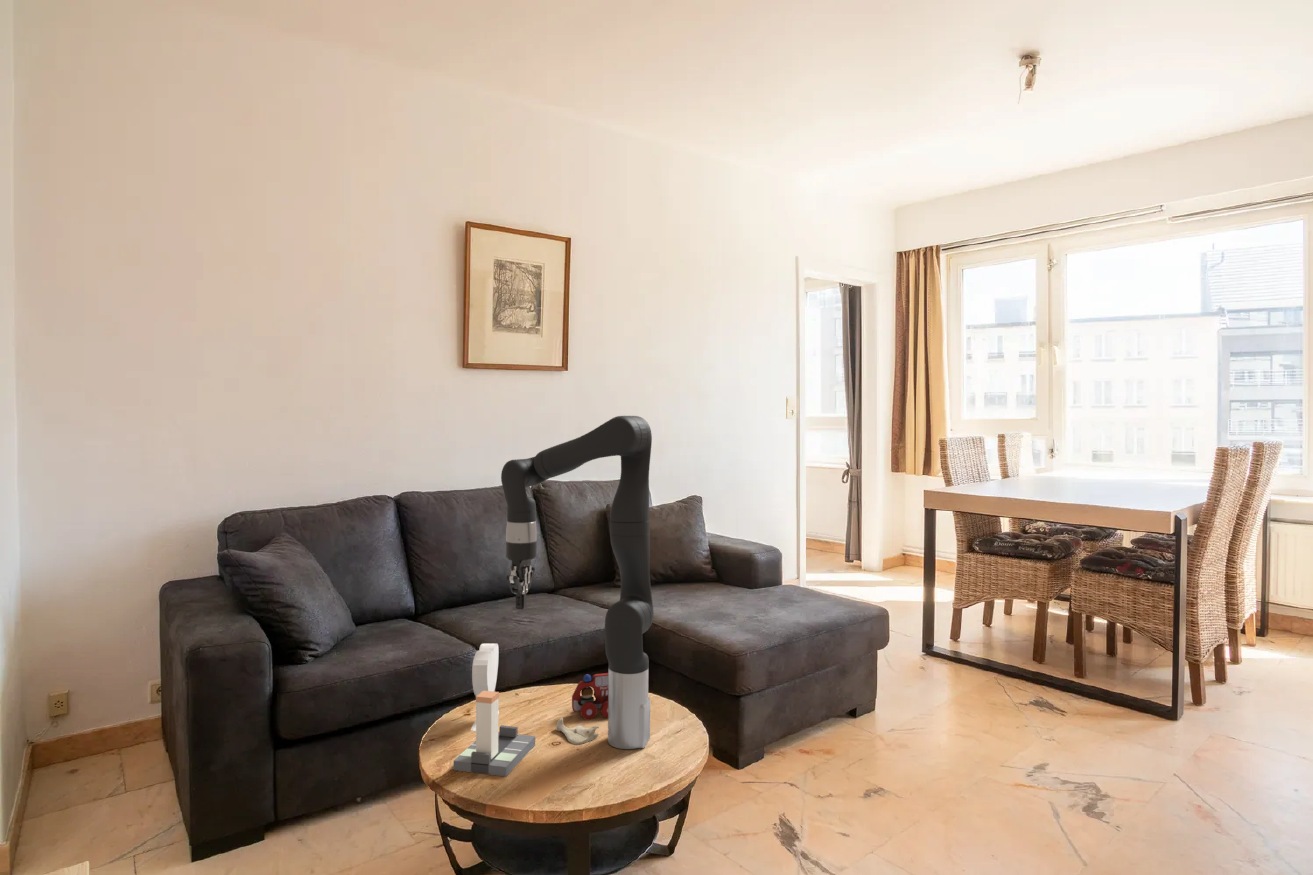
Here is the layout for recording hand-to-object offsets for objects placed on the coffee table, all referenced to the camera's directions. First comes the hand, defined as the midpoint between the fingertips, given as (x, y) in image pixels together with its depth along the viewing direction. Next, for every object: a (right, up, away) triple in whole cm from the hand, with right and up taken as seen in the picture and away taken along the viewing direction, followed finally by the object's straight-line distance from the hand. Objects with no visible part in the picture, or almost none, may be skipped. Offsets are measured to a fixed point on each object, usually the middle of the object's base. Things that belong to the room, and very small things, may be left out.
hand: (520, 608), depth 192 cm
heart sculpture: (-8, -27, -2) cm, 29 cm away
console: (-2, -28, -22) cm, 36 cm away
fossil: (+15, -28, -10) cm, 33 cm away
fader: (-3, -26, -27) cm, 37 cm away
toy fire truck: (+19, -28, +3) cm, 33 cm away
